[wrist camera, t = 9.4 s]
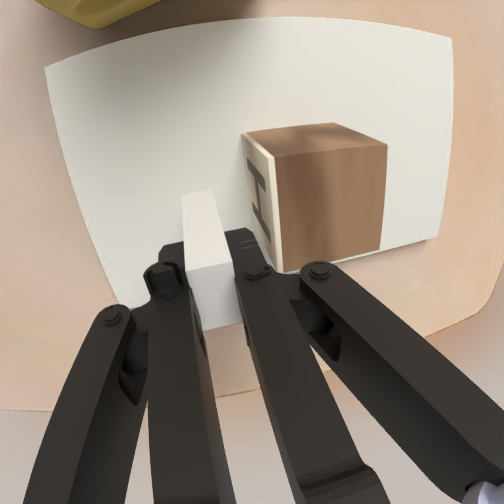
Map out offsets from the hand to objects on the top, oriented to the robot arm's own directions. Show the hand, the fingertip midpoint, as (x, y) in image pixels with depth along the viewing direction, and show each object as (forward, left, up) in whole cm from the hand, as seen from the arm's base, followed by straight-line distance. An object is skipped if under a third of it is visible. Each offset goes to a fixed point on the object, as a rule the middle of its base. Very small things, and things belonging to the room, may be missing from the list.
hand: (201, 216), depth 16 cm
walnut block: (+3, 0, -1) cm, 3 cm away
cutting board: (+6, +1, -5) cm, 8 cm away
